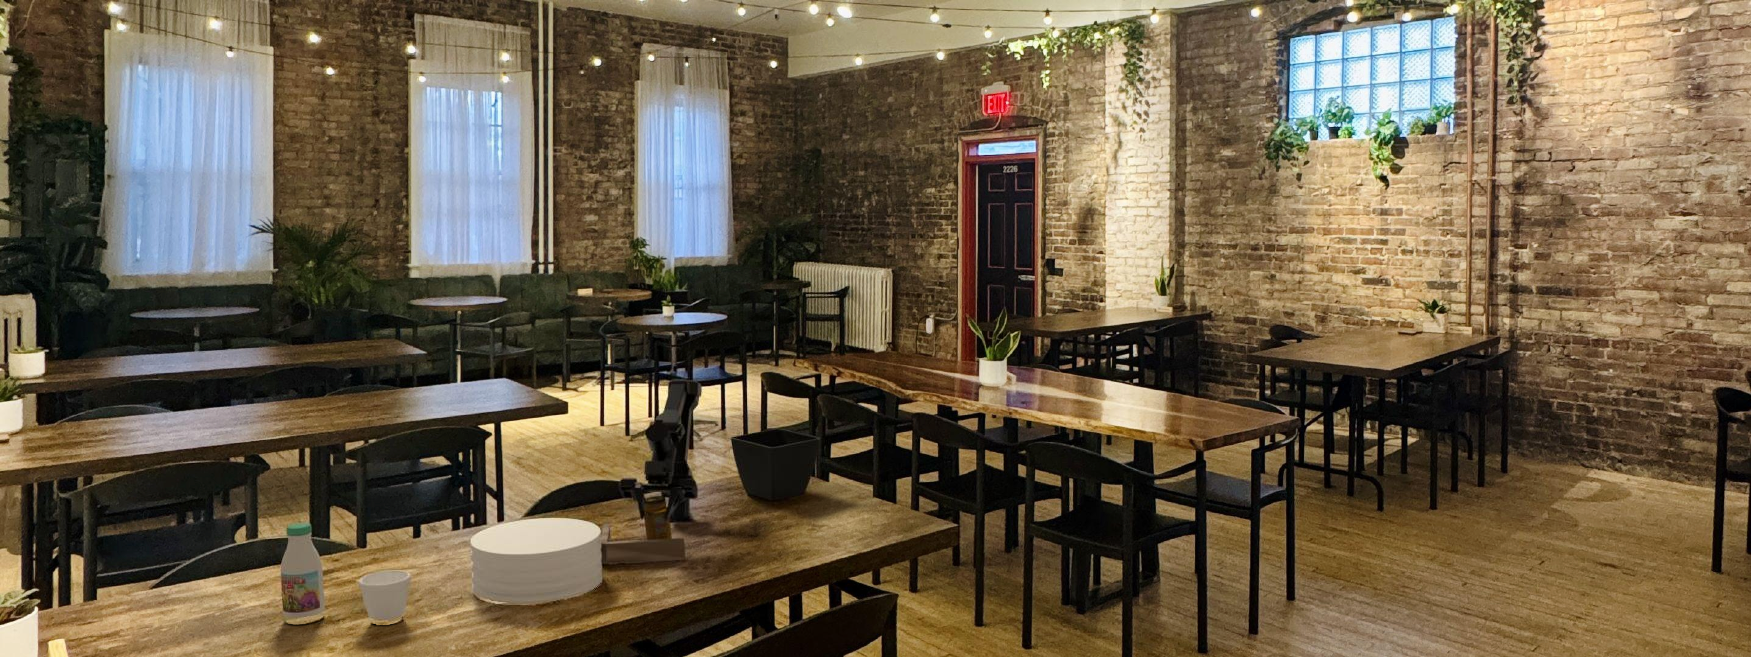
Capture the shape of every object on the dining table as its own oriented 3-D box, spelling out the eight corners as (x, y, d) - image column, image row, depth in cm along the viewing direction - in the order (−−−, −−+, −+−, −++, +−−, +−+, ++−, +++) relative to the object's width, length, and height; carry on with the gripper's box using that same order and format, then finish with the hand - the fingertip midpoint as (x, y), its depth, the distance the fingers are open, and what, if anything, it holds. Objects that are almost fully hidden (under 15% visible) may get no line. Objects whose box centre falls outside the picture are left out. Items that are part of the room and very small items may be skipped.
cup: (362, 633, 236) (360, 588, 235) (358, 617, 244) (356, 574, 243) (416, 624, 240) (413, 580, 239) (410, 609, 249) (408, 566, 248)
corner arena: (604, 543, 295) (603, 523, 295) (683, 538, 299) (682, 519, 298) (600, 564, 278) (600, 544, 278) (684, 560, 282) (683, 539, 281)
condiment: (676, 540, 293) (670, 493, 292) (672, 550, 285) (666, 501, 284) (646, 543, 293) (640, 496, 292) (642, 553, 285) (635, 505, 283)
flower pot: (822, 493, 343) (821, 436, 341) (773, 506, 329) (772, 447, 327) (778, 482, 356) (778, 427, 354) (729, 494, 342) (728, 437, 340)
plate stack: (533, 559, 284) (531, 512, 282) (627, 575, 271) (626, 526, 270) (444, 594, 259) (442, 544, 257) (543, 614, 246) (541, 561, 245)
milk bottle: (292, 613, 247) (286, 520, 245) (331, 612, 248) (325, 519, 245) (277, 627, 239) (271, 531, 237) (316, 625, 240) (310, 530, 238)
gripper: (619, 446, 290) (609, 502, 281) (694, 446, 290) (687, 502, 280) (627, 469, 299) (618, 524, 290) (701, 470, 298) (694, 525, 289)
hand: (653, 518), depth 287 cm, fingers closed on condiment, 6 cm apart
